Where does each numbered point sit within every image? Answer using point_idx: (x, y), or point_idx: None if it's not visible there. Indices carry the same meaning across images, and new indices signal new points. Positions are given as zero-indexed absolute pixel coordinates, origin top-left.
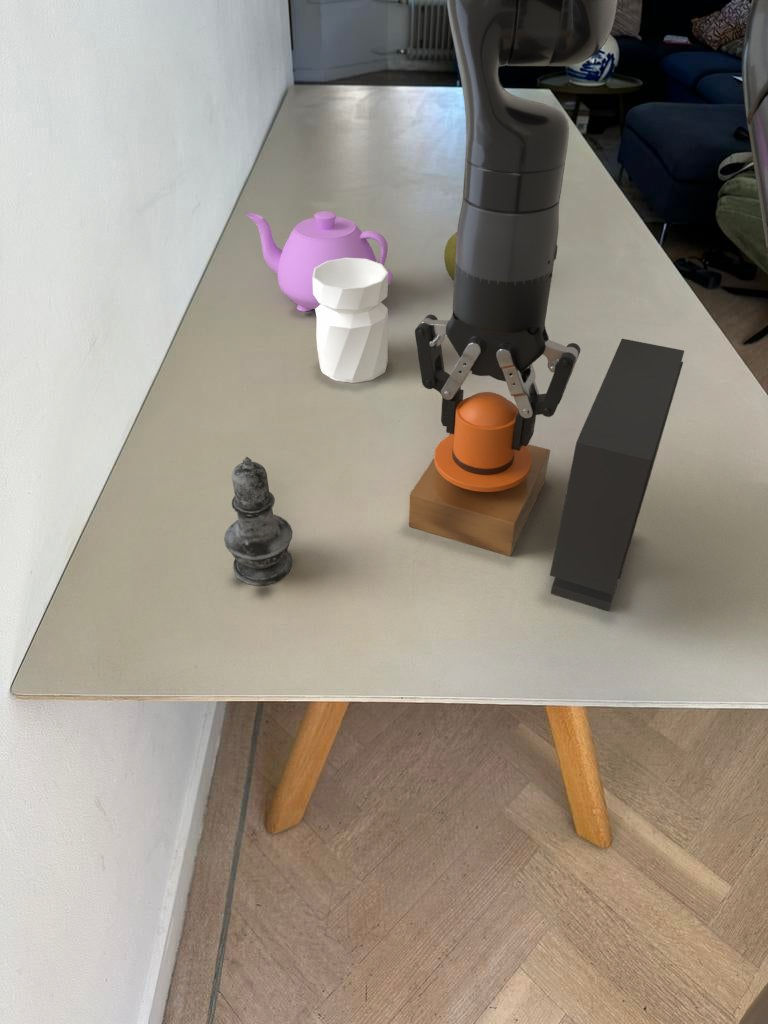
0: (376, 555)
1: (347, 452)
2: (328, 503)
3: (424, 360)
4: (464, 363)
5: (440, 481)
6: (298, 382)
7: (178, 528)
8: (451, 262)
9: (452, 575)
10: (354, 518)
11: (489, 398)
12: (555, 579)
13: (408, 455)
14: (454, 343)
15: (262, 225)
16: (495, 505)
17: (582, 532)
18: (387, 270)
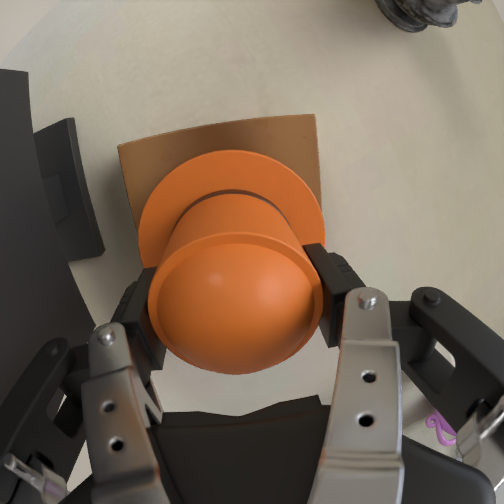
0: (304, 48)
1: (423, 220)
2: (406, 117)
3: (486, 342)
4: (368, 422)
5: None
6: (477, 292)
7: (480, 43)
8: None
9: (191, 64)
10: (367, 101)
11: (233, 346)
12: (67, 129)
13: (359, 254)
14: (445, 469)
15: None
16: (165, 167)
17: None
18: (432, 427)
